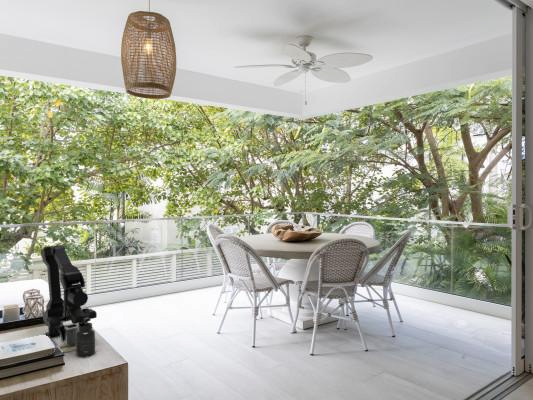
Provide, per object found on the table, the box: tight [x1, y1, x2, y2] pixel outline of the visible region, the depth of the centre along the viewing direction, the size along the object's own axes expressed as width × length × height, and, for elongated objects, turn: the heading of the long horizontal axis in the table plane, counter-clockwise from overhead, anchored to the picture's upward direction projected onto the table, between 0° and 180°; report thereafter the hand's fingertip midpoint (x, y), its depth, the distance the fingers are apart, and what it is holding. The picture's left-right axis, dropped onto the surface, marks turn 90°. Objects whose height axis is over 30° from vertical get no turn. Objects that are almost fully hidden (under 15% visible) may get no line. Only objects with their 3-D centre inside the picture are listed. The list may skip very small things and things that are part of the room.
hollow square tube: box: [60, 322, 80, 346], centre depth 174 cm, size 6×6×6 cm
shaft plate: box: [58, 343, 77, 353], centre depth 174 cm, size 7×10×5 cm
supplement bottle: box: [76, 322, 96, 358], centre depth 167 cm, size 7×7×12 cm
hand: (71, 338), depth 174 cm, fingers closed on hollow square tube, 6 cm apart
